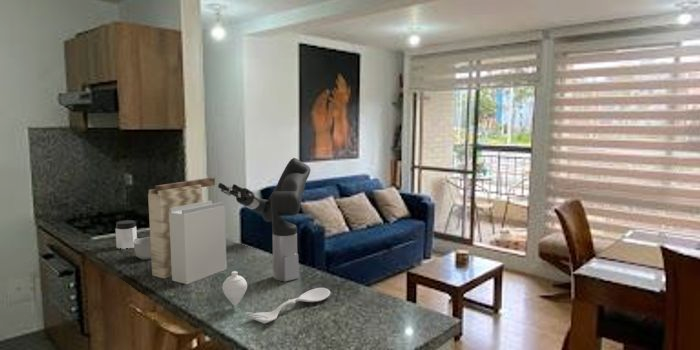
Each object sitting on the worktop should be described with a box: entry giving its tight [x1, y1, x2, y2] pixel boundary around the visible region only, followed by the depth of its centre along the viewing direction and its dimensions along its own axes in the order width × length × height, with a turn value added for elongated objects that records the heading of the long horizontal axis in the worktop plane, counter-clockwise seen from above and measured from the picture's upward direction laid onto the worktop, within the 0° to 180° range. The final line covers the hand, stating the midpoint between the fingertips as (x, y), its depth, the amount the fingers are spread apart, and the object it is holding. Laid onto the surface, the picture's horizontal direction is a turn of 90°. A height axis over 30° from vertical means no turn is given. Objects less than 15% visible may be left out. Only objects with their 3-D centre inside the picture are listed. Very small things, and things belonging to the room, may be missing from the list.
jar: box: [115, 219, 138, 250], centre depth 219 cm, size 9×8×12 cm
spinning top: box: [221, 270, 248, 309], centre depth 147 cm, size 8×8×12 cm
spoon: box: [243, 287, 331, 324], centre depth 147 cm, size 9×32×4 cm, turn 142°
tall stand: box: [147, 185, 204, 279], centre depth 184 cm, size 20×7×34 cm, turn 150°
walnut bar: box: [154, 177, 216, 194], centre depth 187 cm, size 28×3×3 cm, turn 152°
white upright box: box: [169, 200, 228, 285], centre depth 179 cm, size 20×8×28 cm, turn 150°
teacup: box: [133, 236, 151, 260], centre depth 203 cm, size 14×11×8 cm
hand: (226, 185), depth 206 cm, fingers open, 8 cm apart
